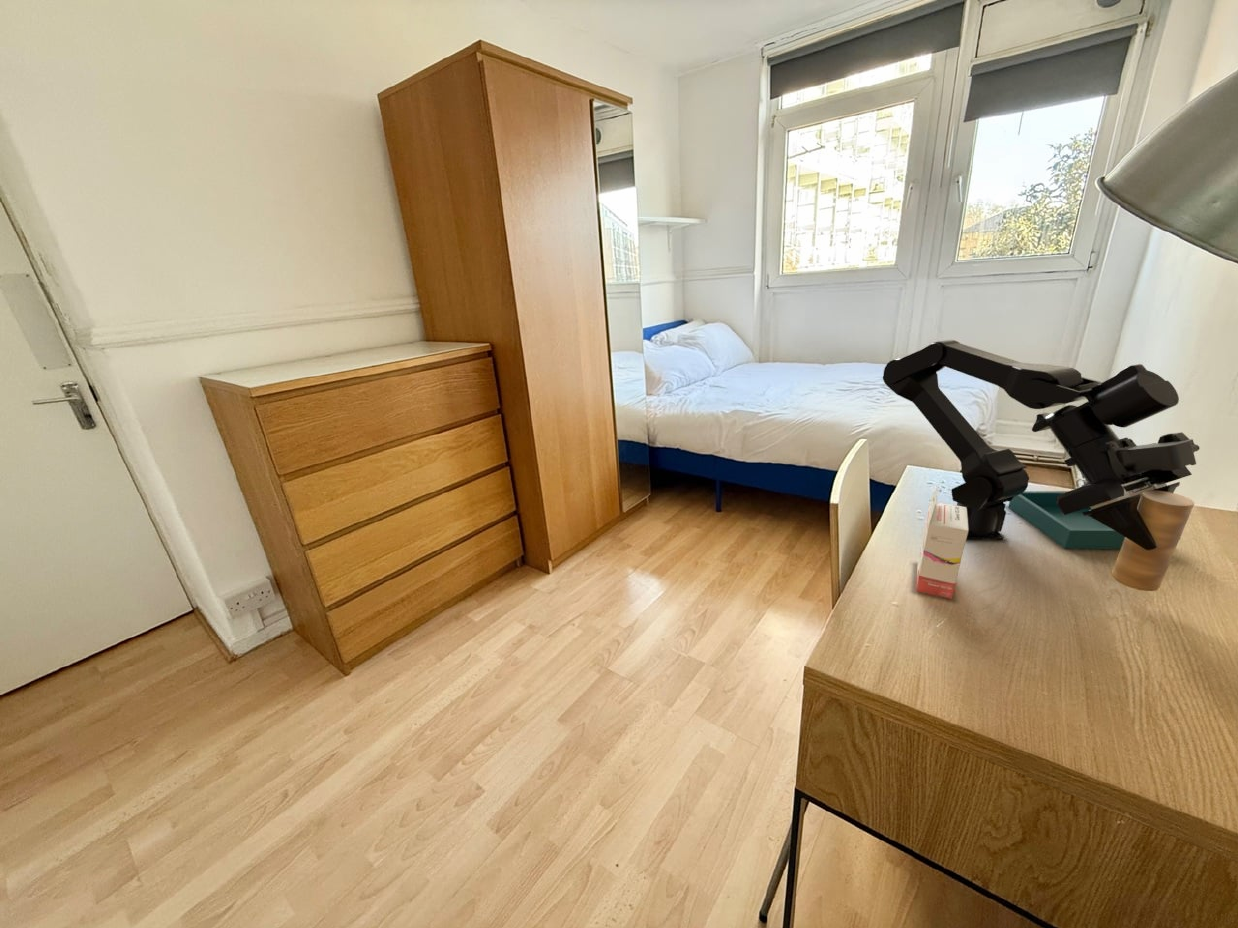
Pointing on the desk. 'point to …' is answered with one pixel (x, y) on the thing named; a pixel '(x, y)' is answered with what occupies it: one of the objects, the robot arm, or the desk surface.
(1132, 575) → the wood cylinder
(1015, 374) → the robot arm
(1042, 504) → the teal serving tray
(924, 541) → the ink cartridge box
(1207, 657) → the desk surface
